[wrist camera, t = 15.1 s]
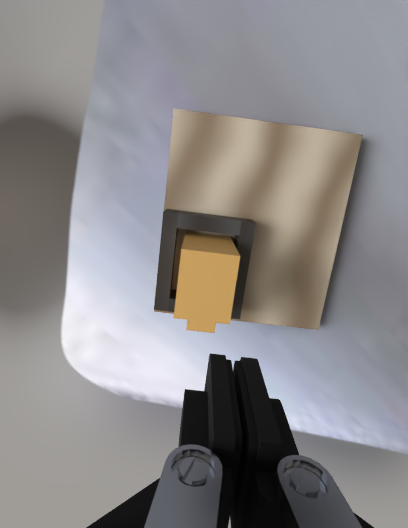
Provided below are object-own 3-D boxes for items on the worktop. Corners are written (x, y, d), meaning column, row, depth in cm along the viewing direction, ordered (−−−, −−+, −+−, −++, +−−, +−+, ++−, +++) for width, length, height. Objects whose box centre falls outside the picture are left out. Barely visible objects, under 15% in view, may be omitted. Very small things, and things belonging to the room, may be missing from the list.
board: (354, 136, 30) (377, 130, 26) (313, 323, 34) (327, 341, 31) (175, 111, 29) (171, 102, 25) (156, 305, 34) (150, 322, 30)
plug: (229, 236, 31) (240, 256, 23) (221, 296, 32) (228, 334, 24) (185, 230, 30) (181, 249, 23) (178, 291, 32) (172, 328, 24)
